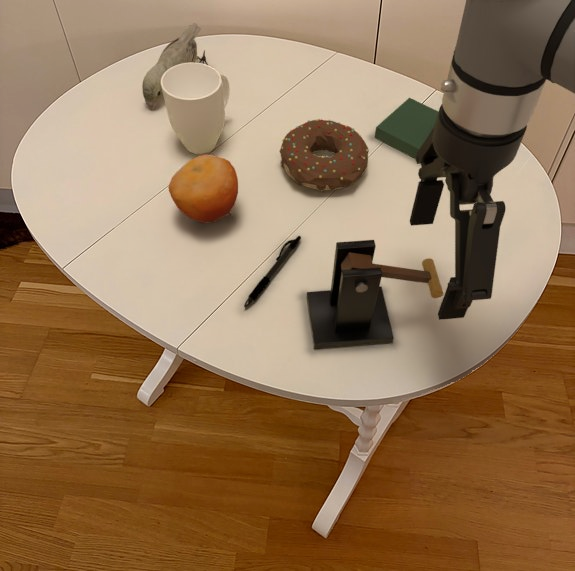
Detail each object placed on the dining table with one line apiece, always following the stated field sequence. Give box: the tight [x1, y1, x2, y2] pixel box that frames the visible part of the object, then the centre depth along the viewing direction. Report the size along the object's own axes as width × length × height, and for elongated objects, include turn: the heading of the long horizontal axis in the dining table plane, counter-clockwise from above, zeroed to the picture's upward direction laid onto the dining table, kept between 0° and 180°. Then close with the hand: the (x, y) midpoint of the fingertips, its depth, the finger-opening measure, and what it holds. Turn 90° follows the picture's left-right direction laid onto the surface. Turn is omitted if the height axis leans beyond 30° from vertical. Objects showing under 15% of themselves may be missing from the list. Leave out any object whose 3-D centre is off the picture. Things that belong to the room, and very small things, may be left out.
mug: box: [161, 62, 231, 155], centre depth 93 cm, size 12×9×12 cm
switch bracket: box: [306, 239, 395, 350], centre depth 72 cm, size 10×8×13 cm
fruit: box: [168, 154, 239, 225], centre depth 84 cm, size 10×9×10 cm
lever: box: [341, 252, 444, 299], centre depth 70 cm, size 12×5×2 cm, turn 96°
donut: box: [279, 118, 370, 192], centre depth 92 cm, size 14×14×5 cm
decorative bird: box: [141, 23, 209, 110], centre depth 103 cm, size 5×16×8 cm, turn 153°
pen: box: [243, 235, 302, 309], centre depth 81 cm, size 14×2×1 cm, turn 149°
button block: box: [373, 97, 439, 159], centre depth 96 cm, size 14×10×4 cm
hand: (434, 266), depth 68 cm, fingers open, 13 cm apart
